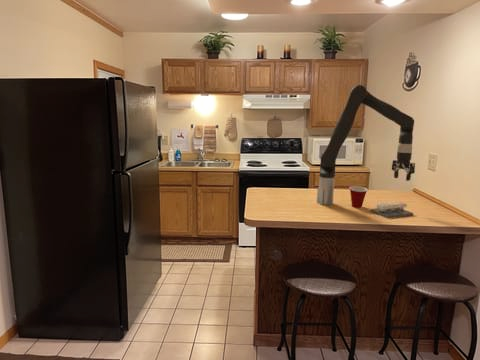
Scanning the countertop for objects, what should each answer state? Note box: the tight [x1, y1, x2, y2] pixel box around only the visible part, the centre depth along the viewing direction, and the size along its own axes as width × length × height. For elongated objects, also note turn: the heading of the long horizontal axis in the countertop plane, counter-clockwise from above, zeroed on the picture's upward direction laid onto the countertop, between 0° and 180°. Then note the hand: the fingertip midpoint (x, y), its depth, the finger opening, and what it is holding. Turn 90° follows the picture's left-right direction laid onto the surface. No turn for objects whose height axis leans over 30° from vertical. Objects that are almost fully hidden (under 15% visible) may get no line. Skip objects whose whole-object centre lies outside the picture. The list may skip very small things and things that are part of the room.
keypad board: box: [369, 207, 414, 219], centre depth 195 cm, size 18×14×4 cm
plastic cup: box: [348, 185, 368, 209], centre depth 207 cm, size 11×11×12 cm
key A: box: [375, 202, 389, 212], centre depth 192 cm, size 5×5×4 cm
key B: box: [385, 201, 398, 211], centre depth 194 cm, size 5×5×4 cm
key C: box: [394, 200, 408, 210], centre depth 197 cm, size 5×5×4 cm
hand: (401, 179), depth 197 cm, fingers open, 8 cm apart
